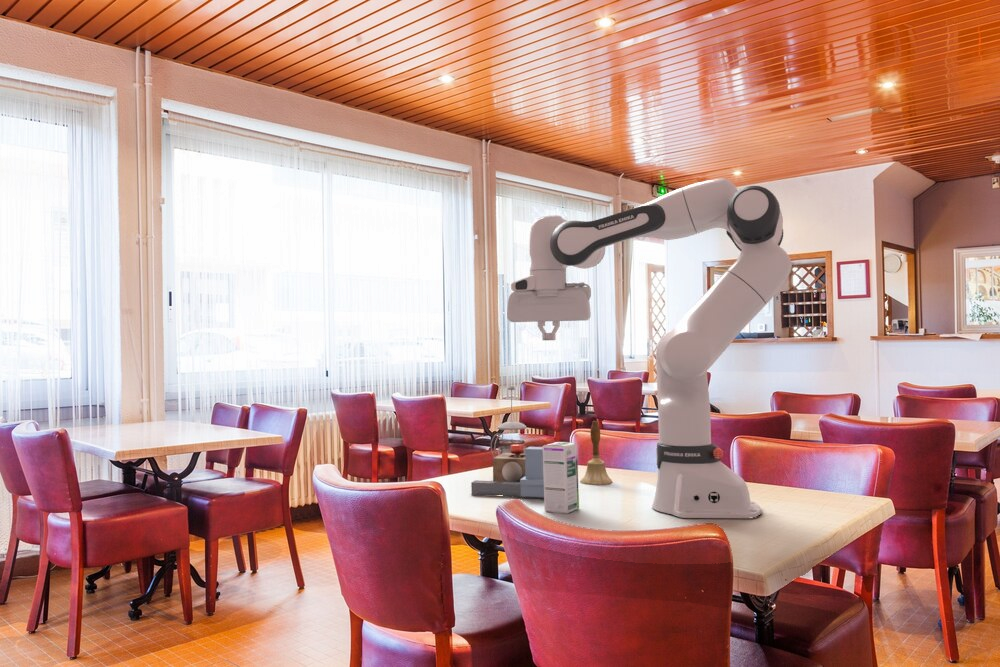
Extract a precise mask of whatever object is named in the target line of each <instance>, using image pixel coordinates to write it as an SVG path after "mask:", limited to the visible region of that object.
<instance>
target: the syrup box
mask: <svg viewBox="0 0 1000 667" xmlns="http://www.w3.org/2000/svg"><path fill="white" fill-rule="evenodd" d="M542 447H543V477H544V498H543V499H544V500H543V502H544V505H543V506H544V511H545V512H550V513H555V514H556V513H558V514H566V515H567V514H569V513H571V512H573V511H576V510H578V509H580V498H579V497H580V494H579V469H578V468H579V463H578V462H579V461H578V444H577V443H575V442H570V441H554V442H553V443H548V444H544V445H543V446H542Z"/></svg>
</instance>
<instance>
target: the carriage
mask: <svg viewBox="0 0 1000 667" xmlns="http://www.w3.org/2000/svg"><path fill="white" fill-rule="evenodd" d="M520 485H521V496H527V497H544V477H543V446H528V447H526V449H525V477H523V478H522V479H520ZM527 497H526V498H527Z"/></svg>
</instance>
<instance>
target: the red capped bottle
mask: <svg viewBox="0 0 1000 667" xmlns="http://www.w3.org/2000/svg"><path fill="white" fill-rule="evenodd" d="M524 446H525V444H512V445H511V453H512V454H515V457H520V454H522V453H524Z"/></svg>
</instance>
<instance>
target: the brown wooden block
mask: <svg viewBox="0 0 1000 667" xmlns="http://www.w3.org/2000/svg"><path fill="white" fill-rule="evenodd" d="M523 477H525V453H522V454H520V457H515V454H512V453H502V454H500V455H498V454H497V456H496V455H495V456H494V457H493V458H492V481H504V482H520V479H522V478H523Z"/></svg>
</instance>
